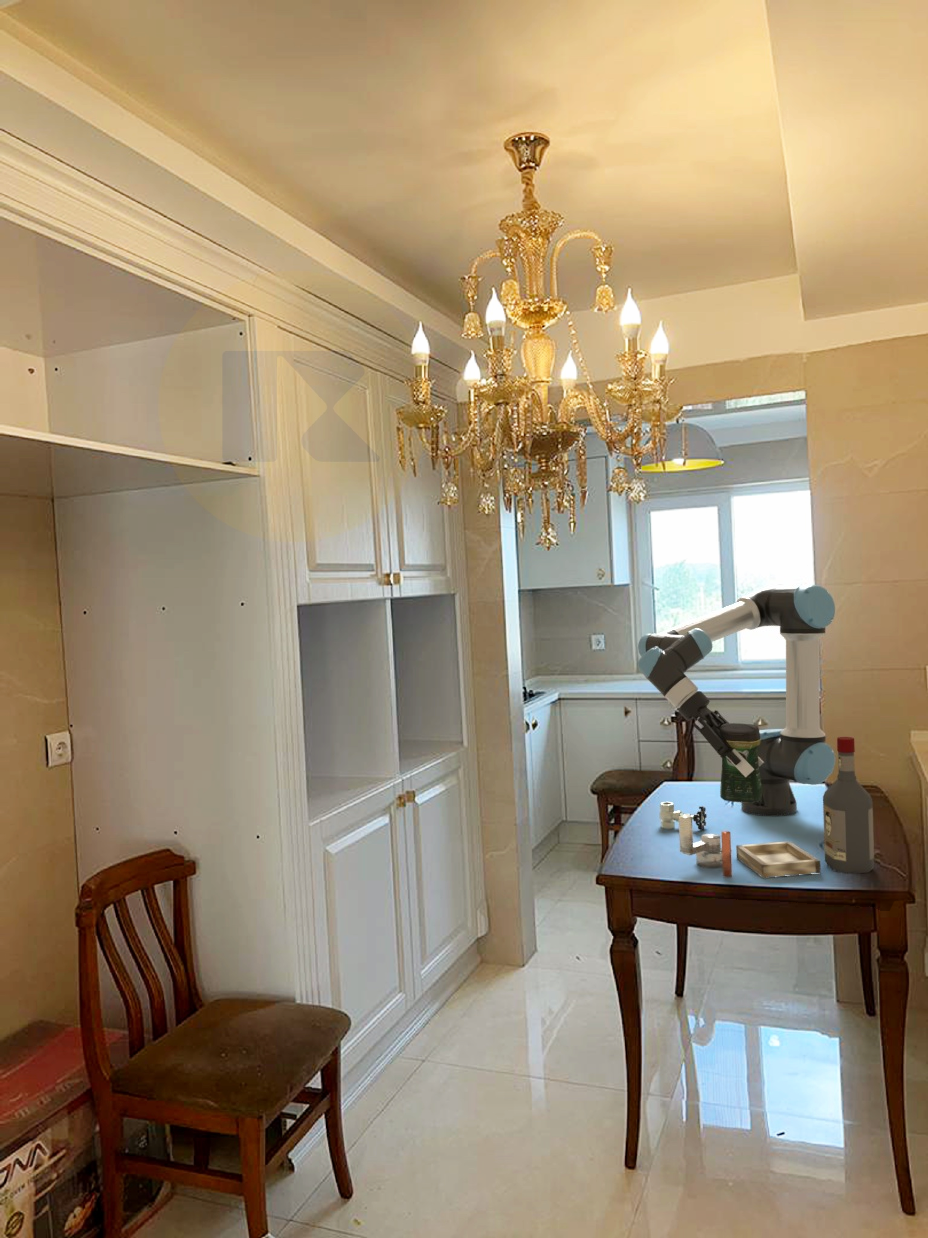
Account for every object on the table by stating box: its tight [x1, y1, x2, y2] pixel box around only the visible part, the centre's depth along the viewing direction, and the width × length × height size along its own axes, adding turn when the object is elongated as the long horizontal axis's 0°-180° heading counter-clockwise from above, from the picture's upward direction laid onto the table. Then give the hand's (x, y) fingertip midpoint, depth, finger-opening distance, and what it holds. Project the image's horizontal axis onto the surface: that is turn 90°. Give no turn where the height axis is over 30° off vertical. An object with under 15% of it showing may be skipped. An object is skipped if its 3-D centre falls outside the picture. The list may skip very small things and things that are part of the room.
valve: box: [659, 801, 707, 831], centre depth 246 cm, size 7×7×12 cm
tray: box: [735, 840, 822, 879], centre depth 212 cm, size 13×15×3 cm
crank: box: [678, 814, 722, 856], centre depth 212 cm, size 13×4×10 cm, turn 127°
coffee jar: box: [719, 722, 762, 804], centre depth 218 cm, size 10×8×19 cm
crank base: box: [695, 830, 733, 878], centre depth 212 cm, size 7×14×10 cm, turn 5°
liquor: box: [822, 736, 875, 875], centre depth 207 cm, size 9×9×30 cm
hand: (754, 769), depth 217 cm, fingers closed on coffee jar, 8 cm apart
